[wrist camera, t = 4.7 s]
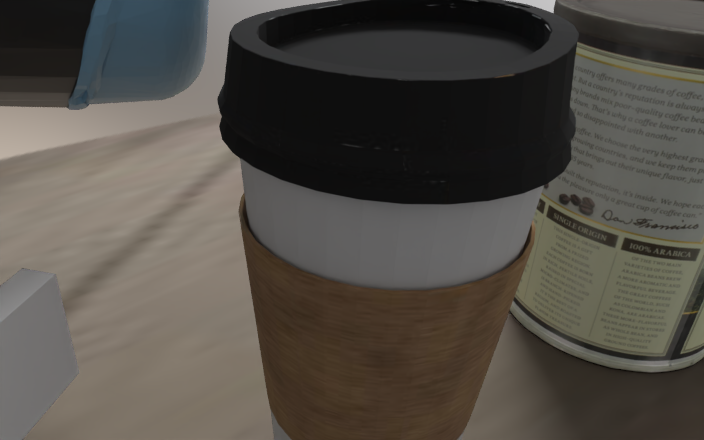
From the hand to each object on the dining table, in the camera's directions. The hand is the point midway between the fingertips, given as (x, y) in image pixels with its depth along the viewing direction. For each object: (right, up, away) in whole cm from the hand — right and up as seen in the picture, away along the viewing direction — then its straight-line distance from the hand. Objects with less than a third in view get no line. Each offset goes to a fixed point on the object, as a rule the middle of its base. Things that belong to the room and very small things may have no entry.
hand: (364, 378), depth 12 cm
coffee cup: (0, -5, +9) cm, 10 cm away
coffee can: (+12, -1, +18) cm, 22 cm away
